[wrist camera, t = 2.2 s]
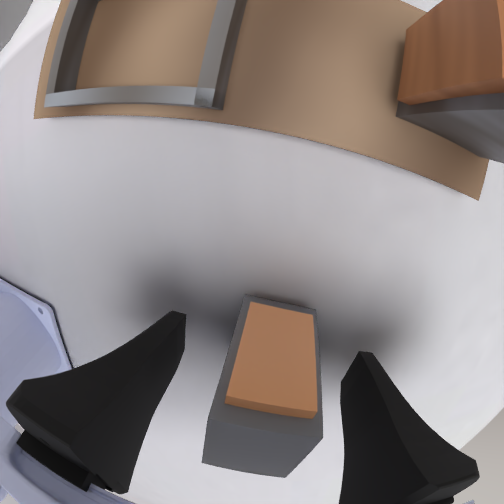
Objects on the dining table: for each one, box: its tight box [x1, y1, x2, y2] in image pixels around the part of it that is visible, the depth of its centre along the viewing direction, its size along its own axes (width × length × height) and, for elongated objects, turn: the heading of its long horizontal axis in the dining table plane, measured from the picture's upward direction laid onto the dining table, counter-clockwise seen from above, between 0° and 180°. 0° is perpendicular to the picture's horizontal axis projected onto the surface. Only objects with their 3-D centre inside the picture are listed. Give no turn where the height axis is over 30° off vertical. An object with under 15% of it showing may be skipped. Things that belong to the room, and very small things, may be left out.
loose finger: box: [202, 294, 323, 478], centre depth 9 cm, size 4×3×6 cm
